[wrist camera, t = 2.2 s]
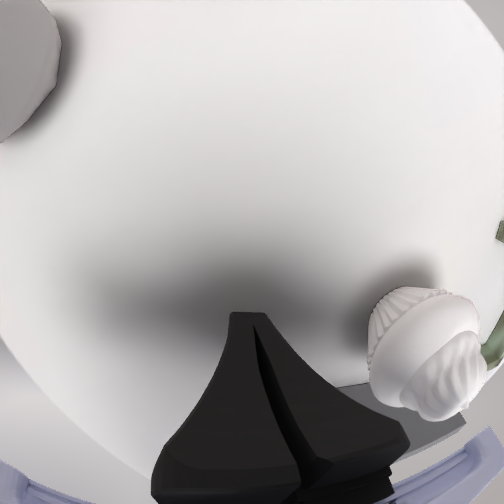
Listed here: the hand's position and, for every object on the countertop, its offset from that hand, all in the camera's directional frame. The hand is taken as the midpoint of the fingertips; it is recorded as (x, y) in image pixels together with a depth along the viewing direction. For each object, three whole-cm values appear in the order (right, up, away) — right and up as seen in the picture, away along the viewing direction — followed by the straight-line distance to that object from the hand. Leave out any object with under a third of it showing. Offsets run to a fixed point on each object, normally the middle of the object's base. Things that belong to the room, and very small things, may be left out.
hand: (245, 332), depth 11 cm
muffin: (+8, 0, +3) cm, 8 cm away
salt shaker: (-9, +10, -4) cm, 14 cm away
